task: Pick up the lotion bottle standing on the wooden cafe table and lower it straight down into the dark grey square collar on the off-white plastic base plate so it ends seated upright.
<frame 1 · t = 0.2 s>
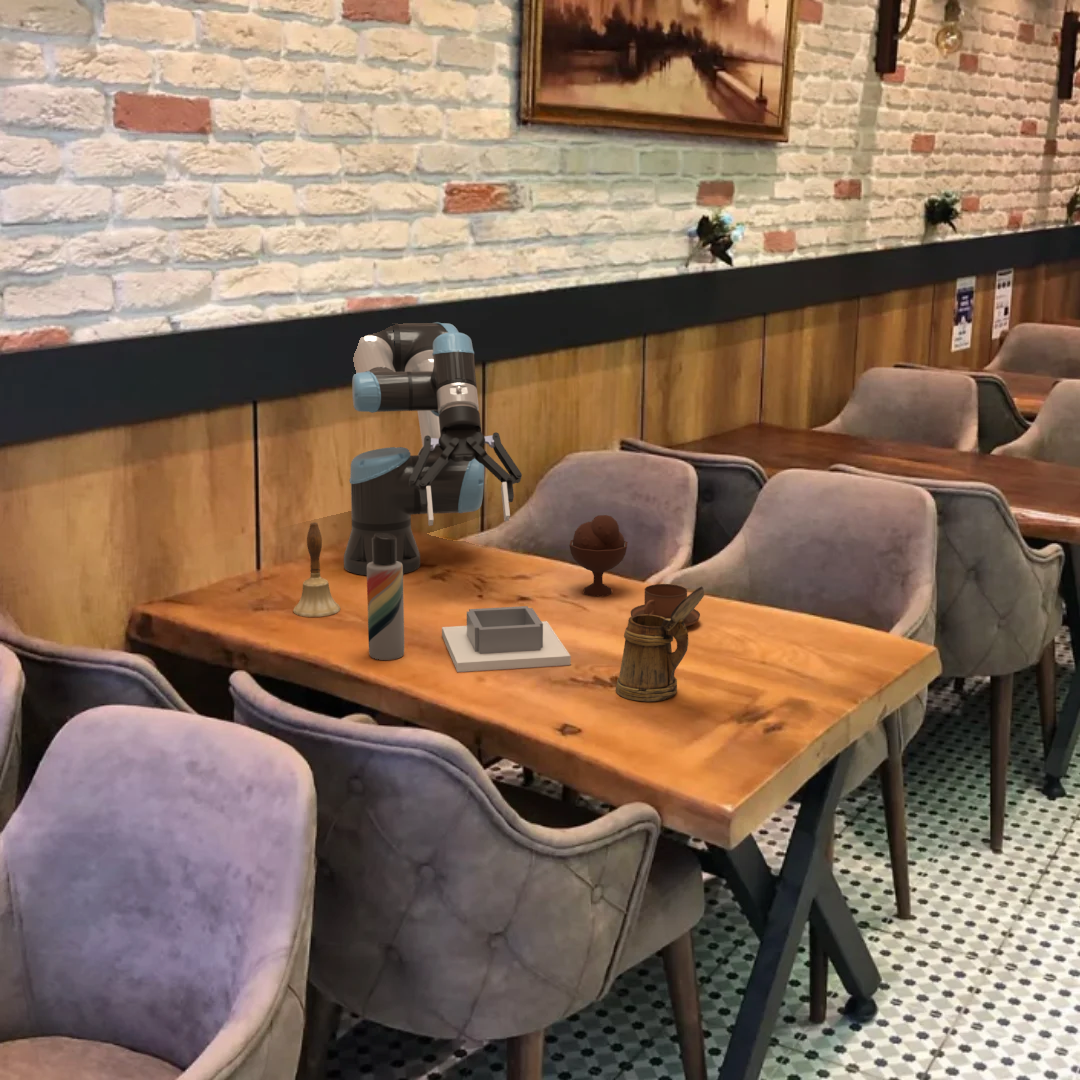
hand: (469, 520, 234), 16 cm above the table, tool tilted 35°, fingers open, 13 cm apart
bottle holder: (504, 649, 214), on the table
ice cream bowl: (597, 593, 247), on the table
lotion bottle: (386, 656, 212), on the table
wooden mug: (658, 696, 196), on the table
cup and saucer: (664, 624, 229), on the table
hand bell: (316, 611, 234), on the table
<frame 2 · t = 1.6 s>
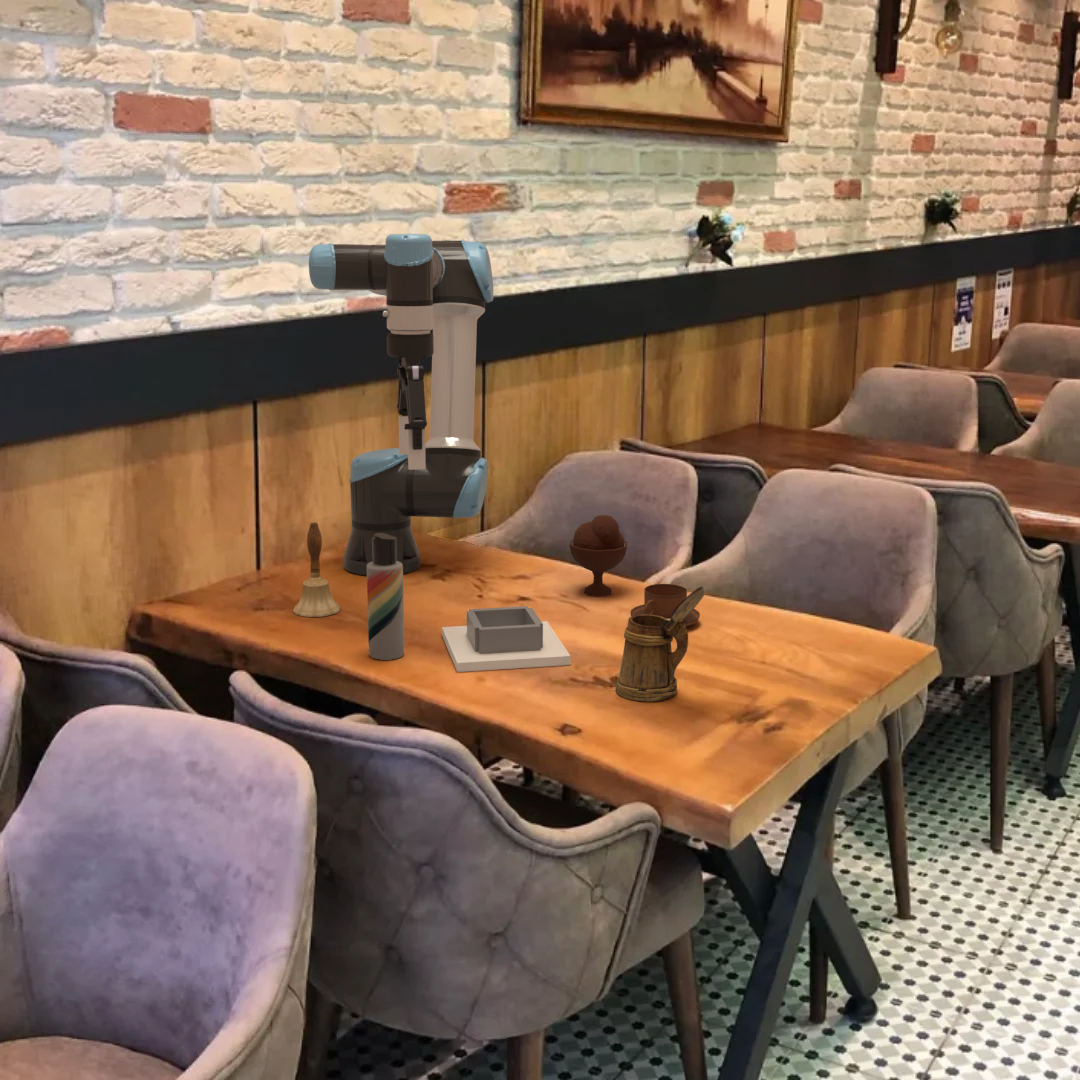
hand: (412, 461, 218), 29 cm above the table, tool pointing down, fingers open, 13 cm apart
nothing on the table moved.
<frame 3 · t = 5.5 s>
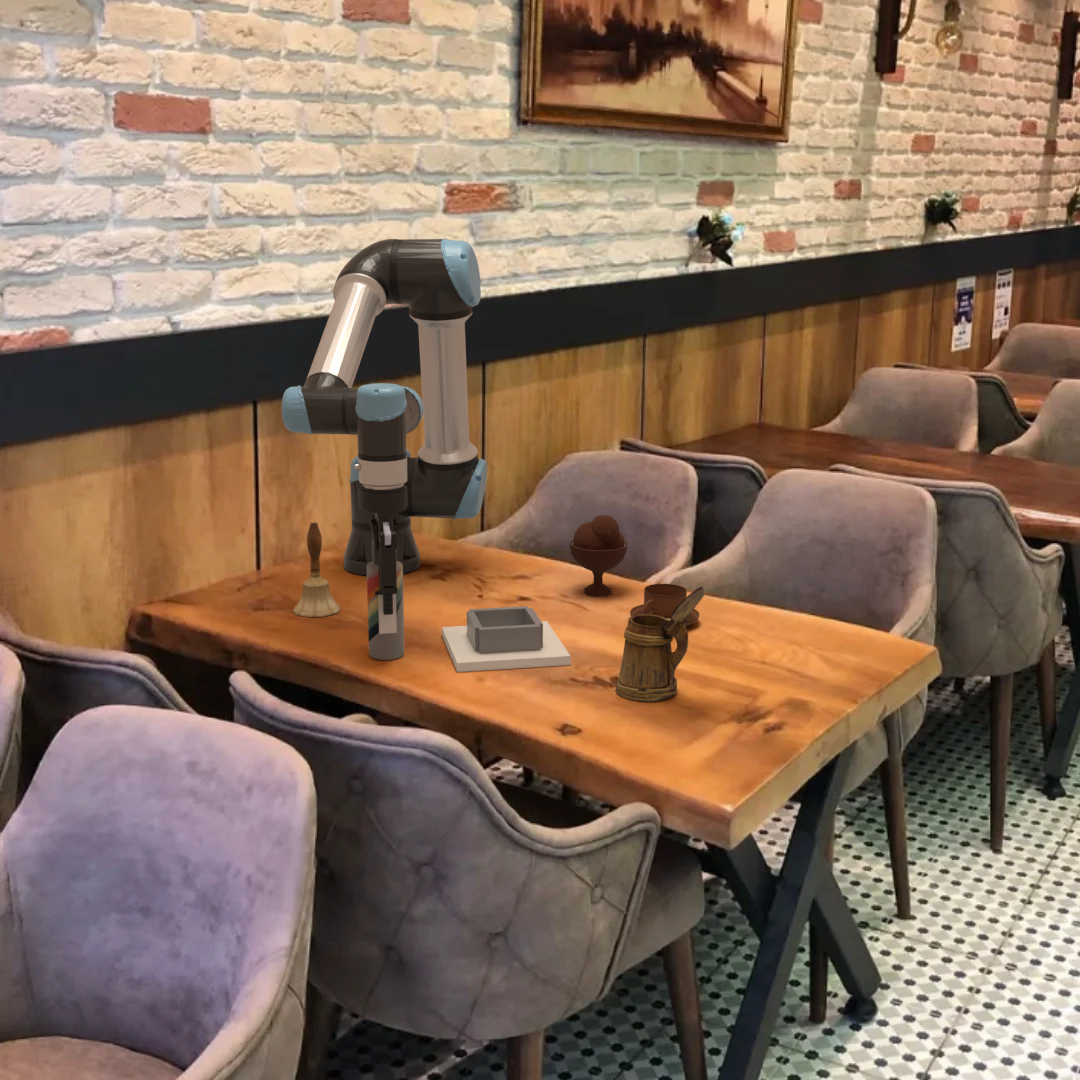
hand: (386, 626, 210), 5 cm above the table, tool pointing down, fingers closed on lotion bottle, 6 cm apart
lotion bottle: (386, 656, 212), on the table, touching gripper
everything else where it was.
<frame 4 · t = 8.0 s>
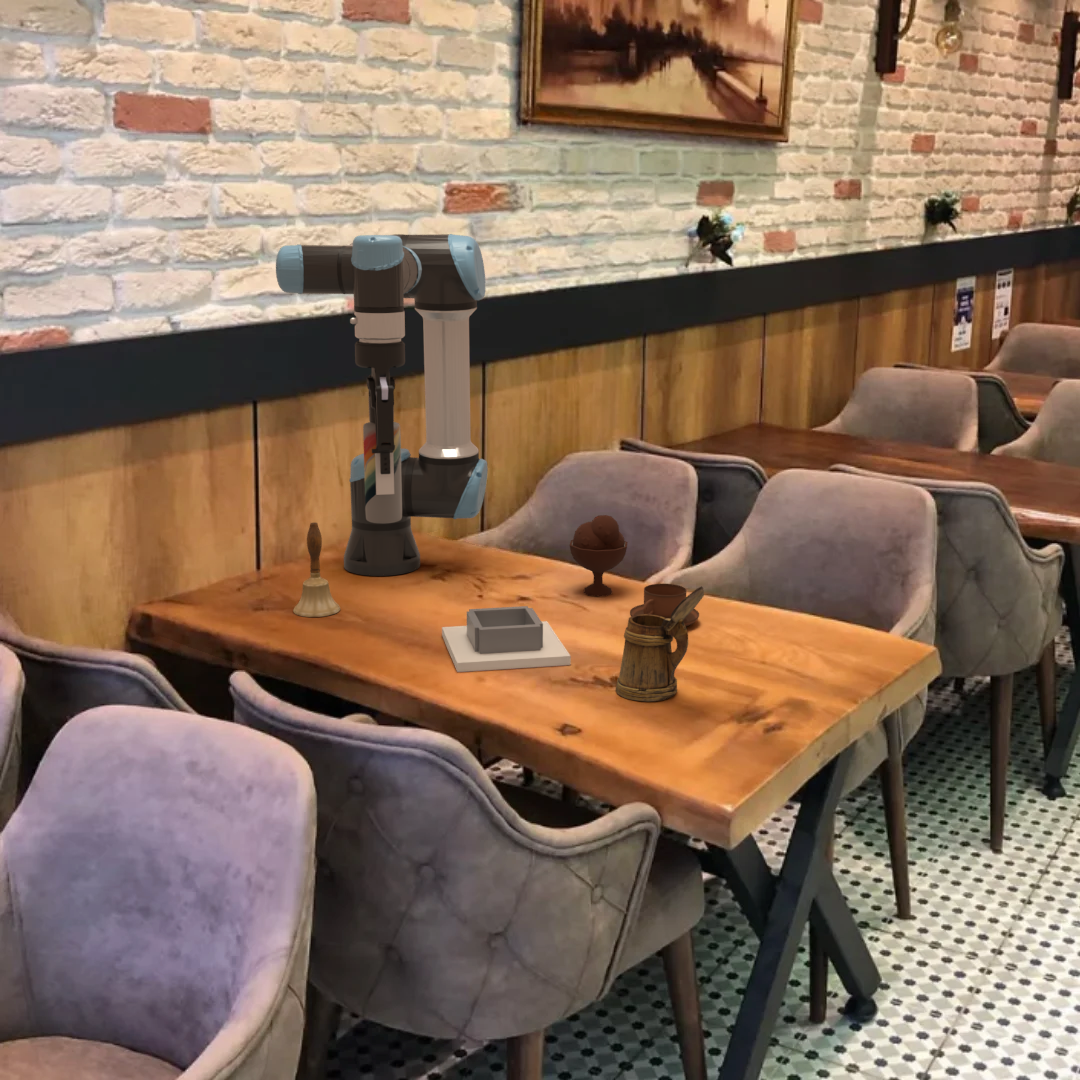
hand: (383, 489, 205), 27 cm above the table, tool pointing down, fingers closed on lotion bottle, 6 cm apart
lotion bottle: (384, 520, 206), point 22 cm above the table, touching gripper
everything else where it was.
when the fingers open (8 cm above the table, at t = 13.6 s): lotion bottle drops 2 cm, resting on bottle holder.
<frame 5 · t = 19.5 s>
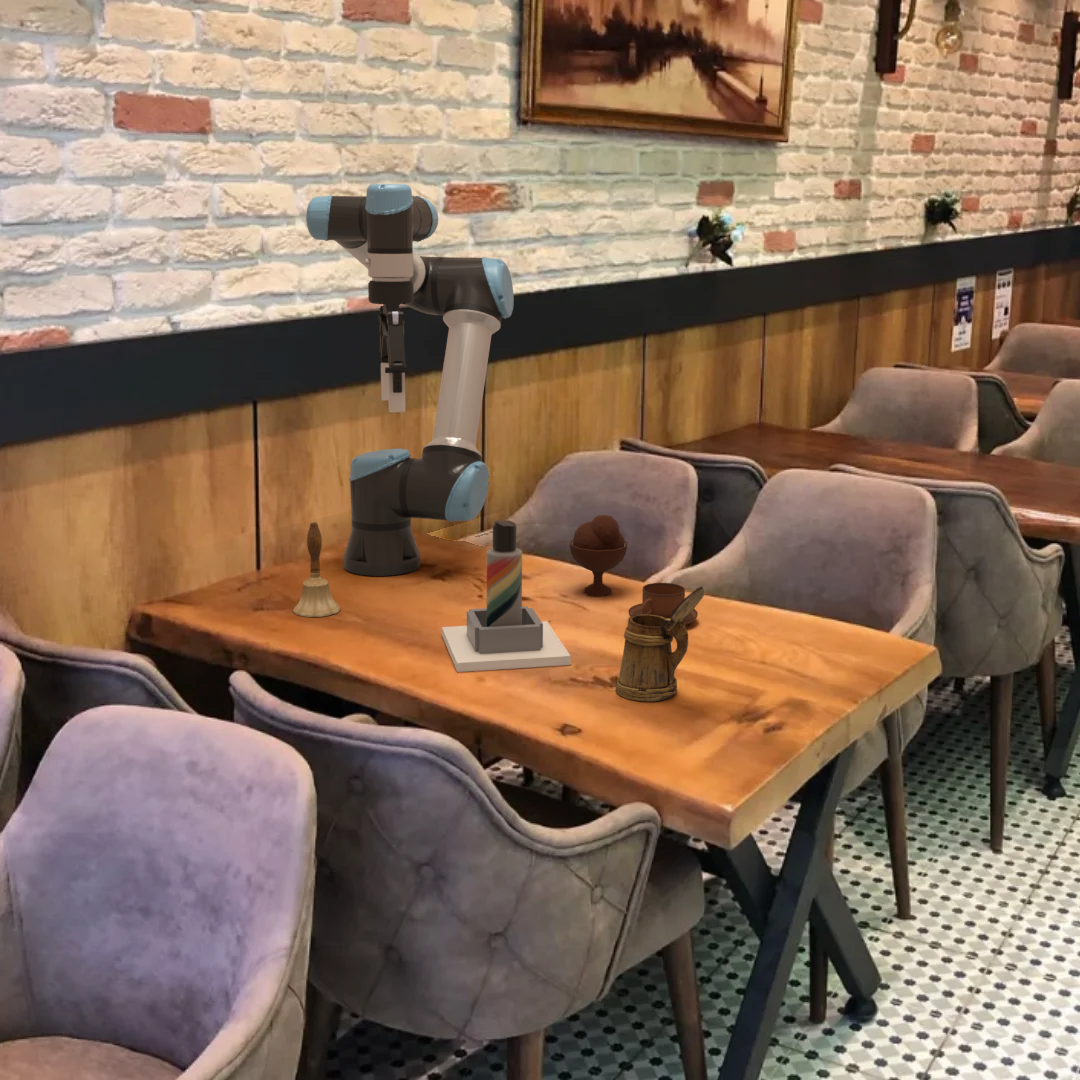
hand: (393, 406, 225), 37 cm above the table, tool pointing down, fingers open, 13 cm apart
lotion bottle: (504, 642, 214), point 1 cm above the table, touching bottle holder
everything else where it was.
at the end: lotion bottle 0.1 cm off-centre on the bottle holder, point 1.3 cm above the bottle holder's base; lotion bottle tilted 0°; the gripper is holding nothing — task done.
